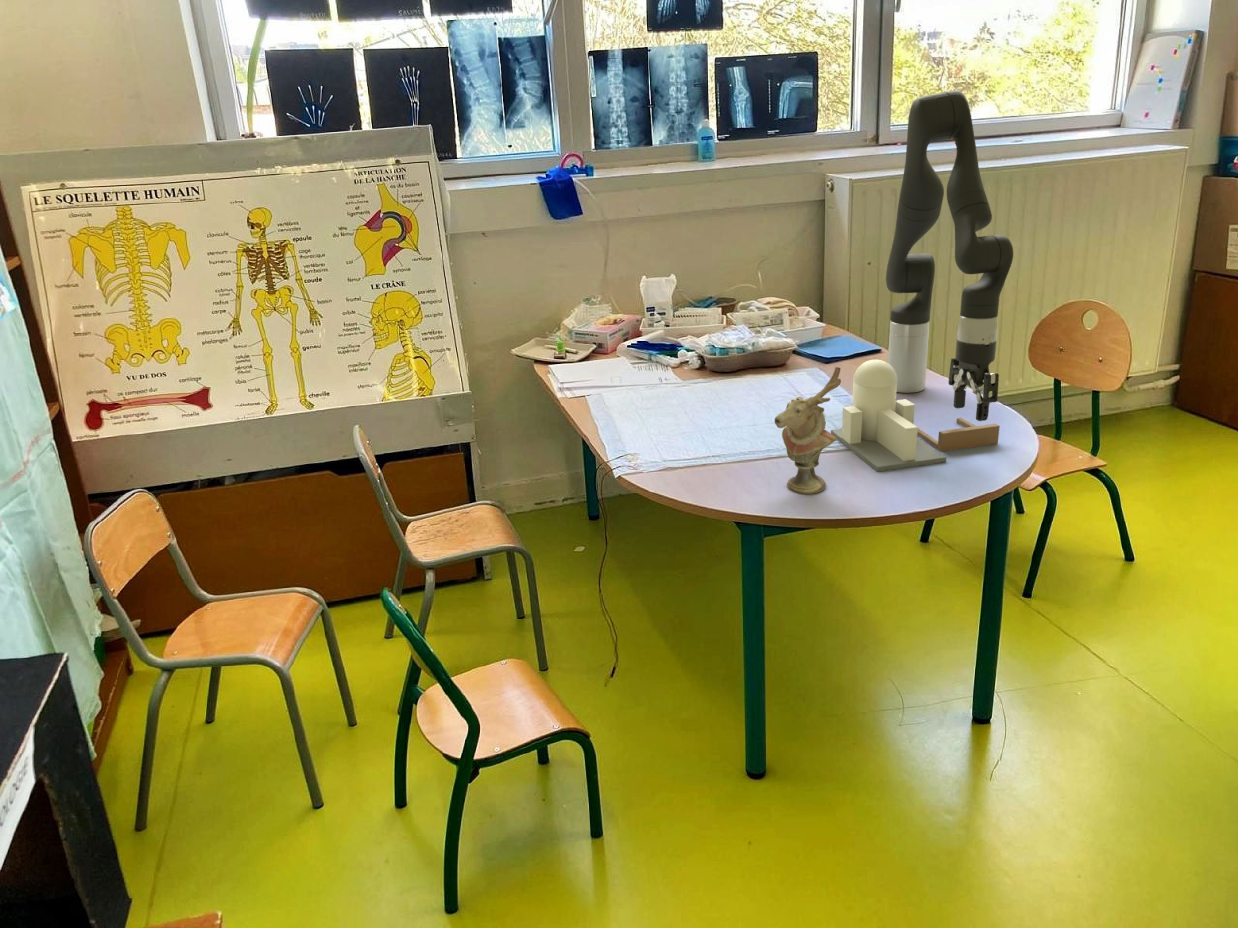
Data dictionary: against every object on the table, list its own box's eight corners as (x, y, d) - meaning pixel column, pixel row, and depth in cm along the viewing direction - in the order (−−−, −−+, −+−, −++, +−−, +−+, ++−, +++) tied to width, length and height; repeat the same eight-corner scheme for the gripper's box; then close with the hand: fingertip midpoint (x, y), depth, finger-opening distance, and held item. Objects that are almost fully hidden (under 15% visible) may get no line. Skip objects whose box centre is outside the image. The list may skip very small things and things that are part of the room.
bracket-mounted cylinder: (830, 434, 206) (833, 358, 199) (893, 425, 208) (897, 350, 202) (877, 471, 185) (881, 388, 179) (945, 461, 188) (952, 379, 181)
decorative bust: (763, 495, 175) (780, 365, 168) (778, 477, 187) (795, 355, 179) (820, 507, 171) (840, 374, 164) (832, 488, 183) (852, 364, 175)
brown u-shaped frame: (907, 428, 206) (908, 411, 205) (960, 421, 208) (962, 404, 207) (941, 451, 193) (942, 433, 192) (997, 443, 195) (999, 425, 194)
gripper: (941, 331, 192) (935, 405, 198) (979, 347, 179) (972, 426, 185) (974, 327, 193) (967, 401, 199) (1014, 343, 180) (1006, 422, 186)
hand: (970, 413), depth 192 cm, fingers open, 8 cm apart
